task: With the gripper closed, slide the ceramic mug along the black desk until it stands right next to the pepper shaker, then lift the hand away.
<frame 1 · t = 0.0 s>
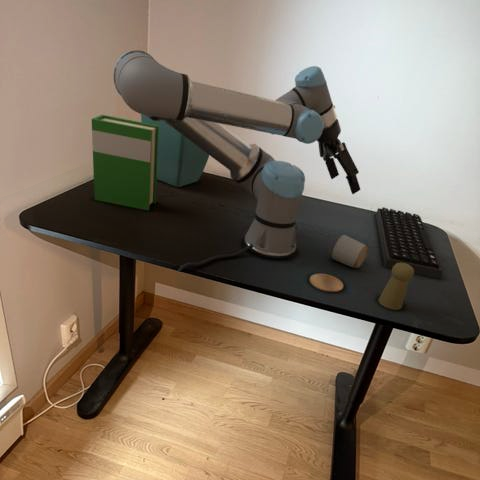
hand: (345, 184, 144), 15 cm above the table, tool tilted 35°, fingers open, 13 cm apart
pepper shaker: (389, 303, 116), on the table
flower pot: (175, 180, 169), on the table
cork coaster: (326, 283, 120), on the table
hardback book: (125, 201, 145), on the table
ceramic mug: (347, 262, 132), on the table
computer keyboard: (402, 243, 151), on the table
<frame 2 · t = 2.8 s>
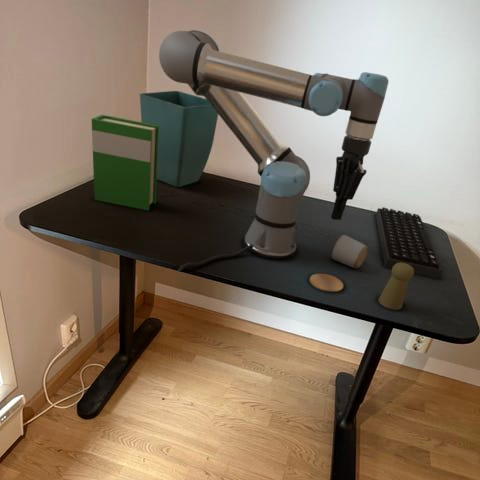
hand: (336, 218, 137), 8 cm above the table, tool pointing down, fingers closed
nothing on the table moved.
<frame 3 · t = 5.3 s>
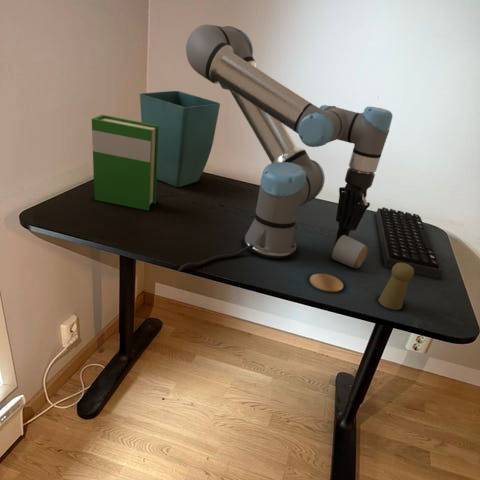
hand: (338, 248, 136), 1 cm above the table, tool pointing down, fingers closed
ceramic mug: (347, 262, 132), on the table, touching gripper
everything else where it was.
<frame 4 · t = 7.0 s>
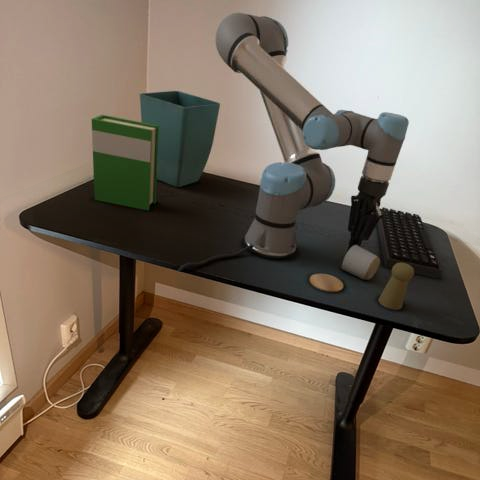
hand: (350, 258, 131), 1 cm above the table, tool pointing down, fingers closed
ceramic mug: (358, 273, 127), on the table, touching gripper
everything else where it was.
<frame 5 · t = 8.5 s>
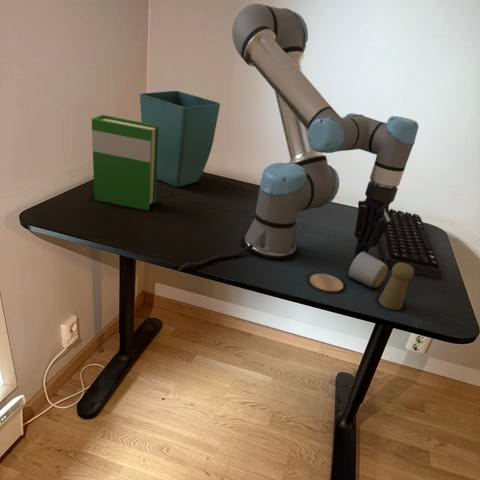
hand: (357, 264, 128), 1 cm above the table, tool pointing down, fingers closed
ceramic mug: (365, 281, 124), on the table, touching gripper
everything else where it was.
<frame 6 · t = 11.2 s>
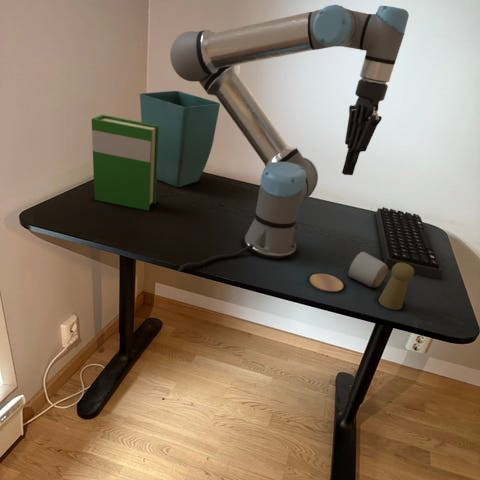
hand: (347, 174, 127), 22 cm above the table, tool pointing down, fingers closed
ceramic mug: (365, 281, 124), on the table
everything else where it was.
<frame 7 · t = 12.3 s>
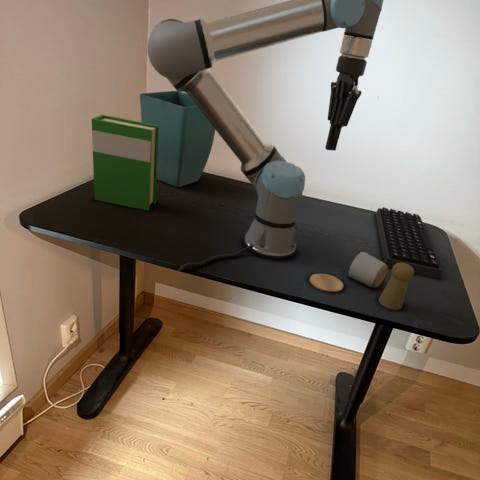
hand: (330, 149, 131), 26 cm above the table, tool pointing down, fingers closed
nothing on the table moved.
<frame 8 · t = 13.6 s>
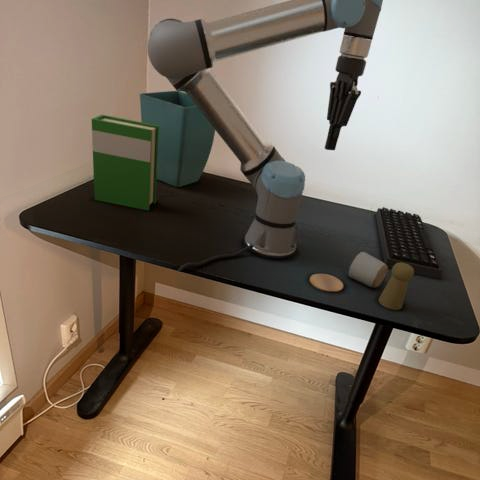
hand: (329, 149, 131), 26 cm above the table, tool pointing down, fingers closed
nothing on the table moved.
at the end: ceramic mug 11.4 cm from the pepper shaker (horizontally); pepper shaker moved 0.2 cm from its start; ceramic mug tilted 0° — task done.
